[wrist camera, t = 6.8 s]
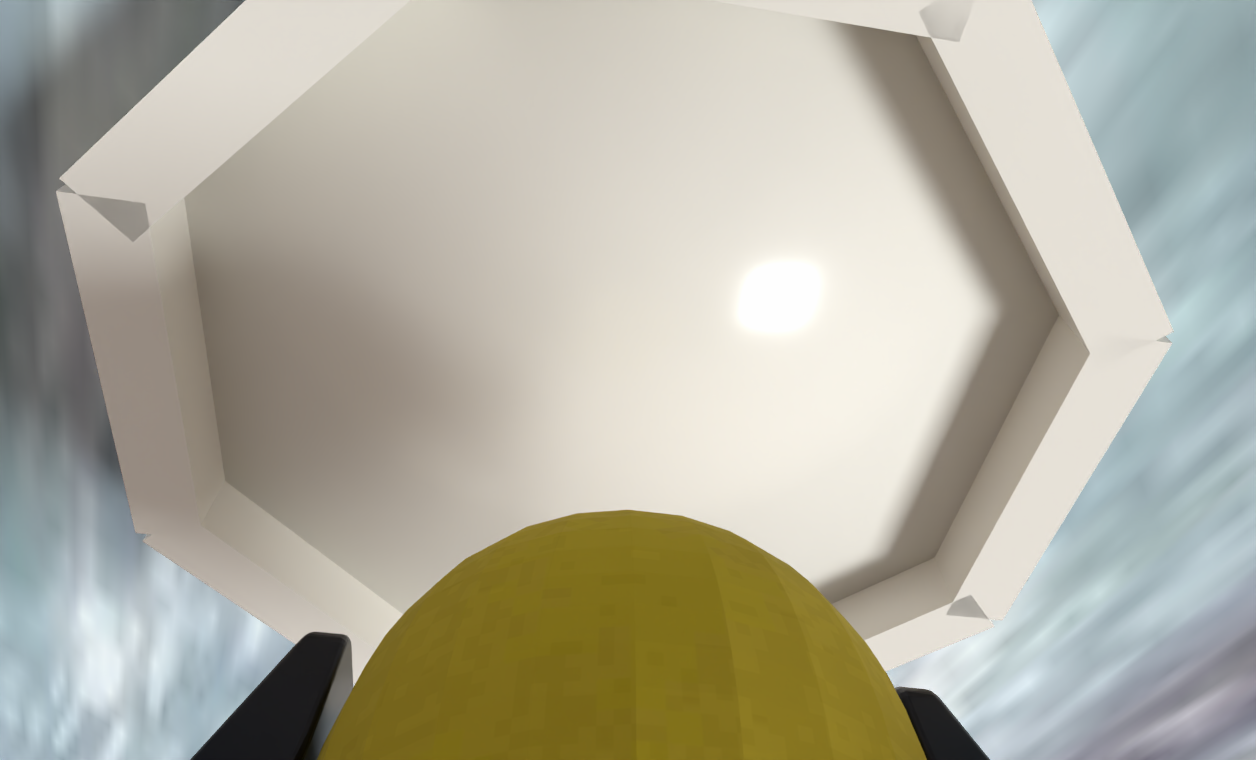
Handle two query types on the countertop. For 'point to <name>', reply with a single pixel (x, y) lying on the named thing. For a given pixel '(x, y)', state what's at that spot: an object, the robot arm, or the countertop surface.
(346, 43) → the dish
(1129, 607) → the countertop surface
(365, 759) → the lemon
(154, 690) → the countertop surface
